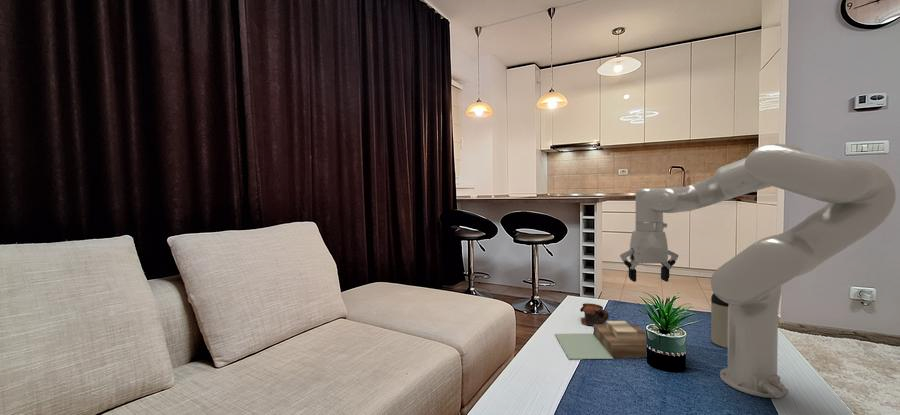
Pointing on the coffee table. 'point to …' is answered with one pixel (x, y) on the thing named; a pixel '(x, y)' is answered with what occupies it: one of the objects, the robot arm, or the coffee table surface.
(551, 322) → the coffee table surface
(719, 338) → the beige canister
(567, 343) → the rubber mat
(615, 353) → the walnut board
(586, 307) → the pottery mug
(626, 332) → the maple tile
